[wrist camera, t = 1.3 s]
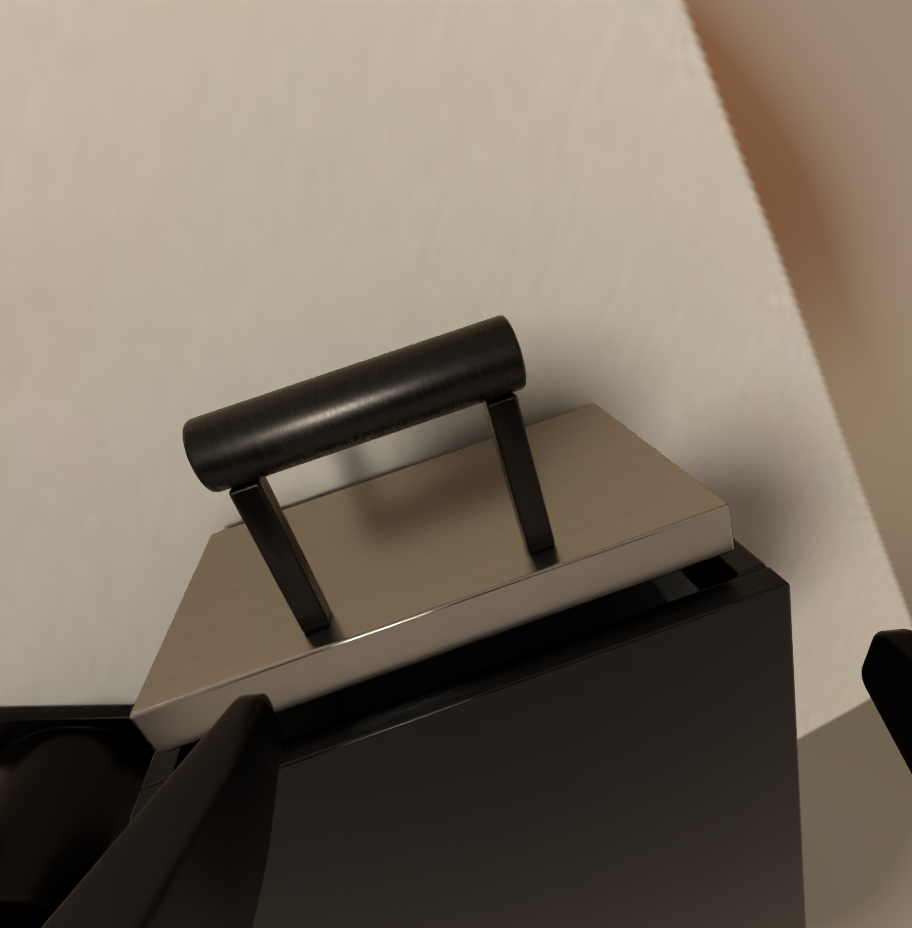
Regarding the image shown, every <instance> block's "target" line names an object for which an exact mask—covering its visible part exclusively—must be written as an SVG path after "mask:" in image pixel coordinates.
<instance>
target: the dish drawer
mask: <svg viewBox="0 0 912 928" xmlns="http://www.w3.org/2000/svg"><path fill="white" fill-rule="evenodd" d="M525 385H526V370H525V364H524V360H523V356H522V352H521V349H520V346H519V343H518V340H517V338H516V335H515V333H514V330H513V328H512V326H511V325H510V323H509V322H508V320H507V319H506V318H505V317H504V316H496V317H493V318H490V319H487V320H484V321H481V322H478V323H475V324H472V325H469V326H466V327H463V328H460V329H457V330H454V331H451V332H449V333H446V334H443V335H440V336H437V337H434V338H431V339H428V340H425V341H422V342H419V343H416V344H413V345H410V346H407V347H404V348H401V349H398V350H395V351H392V352H389V353H386V354H383V355H380V356H377V357H374V358H371V359H368V360H365V361H362V362H359V363H356V364H353V365H350V366H347V367H344V368H341V369H338V370H335V371H332V372H329V373H326V374H323V375H320V376H317V377H314V378H311V379H308V380H305V381H302V382H299V383H297V384H294V385H291V386H288V387H285V388H282V389H279V390H276V391H273V392H270V393H267V394H264V395H261V396H258V397H255V398H252V399H249V400H246V401H243V402H240V403H237V404H234V405H231V406H228V407H225V408H222V409H219V410H216V411H213V412H210V413H207V414H204V415H201V416H198V417H195V418H192V419H189V420H188V421H187V422H186V423H185V425H184V427H183V442H184V447H185V451H186V454H187V457H188V460H189V462H190V464H191V467H192V469H193V470H194V472H195V474H196V476H197V477H198V479H199V480H200V481H201V483H202V484H203V485H204V486H205V487H206V488H207V489H209V490H211V491H213V492H221V491H224V490H227V489H230V488H231V489H230V491H229V495H230V497H231V499H232V500H233V502H234V504H235V506H236V508H237V510H238V512H239V514H240V515H241V517H242V519H243V521H244V524H241V525H238V526H235V527H232V528H229V529H226V530H223V531H221V532H218V533H215V534H212V535H211V537H210V539H209V541H208V544H207V546H206V548H205V550H204V552H203V555H202V557H201V559H200V561H199V563H198V566H197V568H196V570H195V572H194V574H193V577H192V579H191V581H190V583H189V585H188V588H187V590H186V592H185V594H184V596H183V599H182V601H181V603H180V605H179V608H178V610H177V612H176V614H175V616H174V619H173V621H172V623H171V625H170V627H169V630H168V632H167V634H166V636H165V638H164V641H163V643H162V645H161V647H160V649H159V652H158V654H157V656H156V658H155V660H154V663H153V665H152V667H151V669H150V671H149V674H148V676H147V678H146V680H145V683H144V685H143V687H142V689H141V691H140V694H139V696H138V698H137V700H136V702H135V705H134V707H133V709H132V711H131V713H130V719H131V720H132V721H133V723H134V724H135V725H136V727H137V728H138V729H139V730H140V732H141V733H142V734H143V736H144V737H145V738H146V740H147V741H148V742H149V743H150V745H151V746H152V747H153V749H154V750H155V751H156V753H157V754H163V753H166V752H169V751H172V750H174V749H177V748H180V747H183V746H186V745H188V744H191V743H194V742H197V741H200V740H201V739H202V738H203V736H204V735H205V734H206V733H207V732H208V731H209V729H210V728H211V727H212V726H213V725H214V723H215V722H216V721H217V720H218V719H219V718H220V716H221V715H222V714H223V713H224V712H225V710H226V709H227V708H228V707H229V706H230V705H231V703H232V702H233V701H234V700H235V699H236V698H238V697H239V696H242V695H249V694H259V693H264V694H266V695H267V696H268V697H269V698H270V700H271V703H272V706H273V708H274V711H275V713H276V716H277V719H278V721H279V724H280V727H281V731H282V740H283V739H286V738H289V737H291V736H294V735H297V734H300V733H303V732H305V731H308V730H311V729H314V728H317V727H319V726H322V725H325V724H328V723H331V722H333V721H336V720H339V719H342V718H345V717H348V716H350V715H353V714H356V713H359V712H362V711H364V710H367V709H370V708H373V707H376V706H378V705H381V704H384V703H387V702H390V701H392V700H395V699H398V698H401V697H404V696H406V695H409V694H412V693H415V692H418V691H420V690H423V689H426V688H429V687H432V686H434V685H437V684H440V683H443V682H446V681H448V680H451V679H454V678H457V677H460V676H462V675H465V674H468V673H471V672H474V671H476V670H479V669H482V668H485V667H488V666H490V665H493V664H496V663H499V662H502V661H504V660H507V659H510V658H513V657H516V656H518V655H521V654H524V653H527V652H530V651H532V650H535V649H538V648H541V647H544V646H546V645H549V644H552V643H555V642H558V641H560V640H563V639H566V638H569V637H572V636H575V635H577V634H580V633H583V632H586V631H589V630H591V629H594V628H597V627H600V626H603V625H605V624H608V623H611V622H614V621H617V620H619V619H622V618H625V617H628V616H631V615H633V614H636V613H639V612H642V611H645V610H647V609H650V608H653V607H656V606H659V605H661V604H664V603H667V602H670V601H673V600H675V599H678V598H681V597H684V596H687V595H689V594H692V593H695V592H698V591H700V590H699V589H698V588H697V587H696V586H695V585H694V584H693V583H692V582H691V581H690V580H689V579H688V578H687V576H686V575H685V574H684V573H683V572H682V571H681V569H684V568H687V567H690V566H693V565H695V564H698V563H701V562H704V561H707V560H709V559H712V558H715V557H718V556H721V555H724V554H726V553H729V552H732V551H733V550H734V543H733V533H732V523H731V512H730V506H729V504H728V503H726V502H725V501H724V500H722V499H721V498H720V497H718V496H717V495H716V494H714V493H713V492H712V491H710V490H709V489H708V488H706V487H705V486H704V485H702V484H701V483H700V482H698V481H697V480H696V479H694V478H693V477H692V476H690V475H689V474H688V473H686V472H685V471H684V470H682V469H681V468H680V467H678V466H677V465H676V464H674V463H673V462H672V461H670V460H669V459H668V458H666V457H665V456H664V455H662V454H661V453H660V452H658V451H657V450H656V449H654V448H653V447H652V446H650V445H649V444H648V443H646V442H645V441H644V440H642V439H641V438H640V437H638V436H637V435H636V434H634V433H633V432H632V431H630V430H629V429H628V428H626V427H625V426H624V425H622V424H621V423H620V422H618V421H617V420H616V419H614V418H613V417H612V416H610V415H609V414H608V413H606V412H605V411H604V410H602V409H601V408H600V407H598V406H597V405H596V404H591V405H588V406H585V407H582V408H579V409H576V410H573V411H570V412H568V413H565V414H562V415H559V416H556V417H553V418H550V419H547V420H544V421H541V422H538V423H535V424H533V425H530V426H527V427H525V425H524V421H523V417H522V413H521V410H520V406H519V402H518V398H517V396H516V395H515V393H514V391H517V390H520V389H522V388H524V387H525ZM479 403H483V406H484V409H485V413H486V416H487V420H488V423H489V427H490V430H491V434H492V437H493V438H492V439H489V440H486V441H483V442H480V443H477V444H474V445H471V446H468V447H465V448H463V449H460V450H457V451H454V452H451V453H448V454H445V455H442V456H439V457H436V458H433V459H431V460H428V461H425V462H422V463H419V464H416V465H413V466H410V467H407V468H404V469H401V470H398V471H396V472H393V473H390V474H387V475H384V476H381V477H378V478H375V479H372V480H369V481H366V482H363V483H361V484H358V485H355V486H352V487H349V488H346V489H343V490H340V491H337V492H334V493H331V494H328V495H326V496H323V497H320V498H317V499H314V500H311V501H308V502H305V503H302V504H299V505H296V506H293V507H291V508H288V509H285V510H282V509H281V507H280V505H279V503H278V501H277V499H276V497H275V495H274V493H273V491H272V489H271V487H270V485H269V483H268V481H267V479H266V477H265V476H268V475H271V474H274V473H277V472H279V471H282V470H285V469H288V468H291V467H294V466H297V465H300V464H303V463H306V462H309V461H312V460H315V459H318V458H321V457H324V456H326V455H329V454H332V453H335V452H338V451H341V450H344V449H347V448H350V447H353V446H356V445H359V444H362V443H365V442H368V441H370V440H373V439H376V438H379V437H382V436H385V435H388V434H391V433H394V432H397V431H400V430H403V429H406V428H409V427H412V426H415V425H417V424H420V423H423V422H426V421H429V420H432V419H435V418H438V417H441V416H444V415H447V414H450V413H453V412H456V411H459V410H462V409H464V408H467V407H470V406H473V405H476V404H479Z"/></svg>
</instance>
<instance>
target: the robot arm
mask: <svg viewBox="0 0 912 928" xmlns="http://www.w3.org/2000/svg"><path fill="white" fill-rule="evenodd" d="M862 679H863V682H864V685H865V687H866V689H867V691H868V693H869V695H870V697H871V699H872V700H873V702H874V704H875V706H876V708H877V710H878V712H879V714H880V715H881V717H882V719H883V721H884V723H885V725H886V727H887V729H888V730H889V732H890V734H891V736H892V738H893V740H894V742H895V743H896V745H897V747H898V749H899V751H900V753H901V755H902V756H903V758H904V760H905V762H906V764H907V766H908V768H909V770H910V771H911V773H912V631H911V630H907V629H897V630H887V631H880V632H878V633H877V634H875V636H874V637H873V639H872V642H871V645H870V647H869V650H868V653H867V656H866V658H865V661H864V664H863V666H862ZM132 709H133V708H118V709H58V710H0V928H253V923H254V919H255V914H256V910H257V905H258V901H259V896H260V892H261V887H262V883H263V878H264V874H265V869H266V864H267V859H268V853H269V846H270V839H271V831H272V823H273V814H274V806H275V797H276V789H277V781H278V772H279V764H280V755H281V747H282V731H281V727H280V724H279V721H278V719H277V716H276V713H275V711H274V708H273V706H272V703H271V700H270V698H269V697H268V696H267V695H266V694H264V693H259V694H249V695H242V696H239V697H238V698H236V699H235V700H234V701H233V702H232V703H231V705H230V706H229V707H228V708H227V709H226V710H225V712H224V713H223V714H222V715H221V716H220V718H219V719H218V720H217V721H216V722H215V723H214V725H213V726H212V727H211V728H210V729H209V731H208V732H207V733H206V734H205V735H204V736H203V738H202V739H201V740H200V741H199V742H198V743H197V745H196V746H195V747H194V748H193V749H192V751H191V752H190V753H189V754H188V755H187V756H186V758H185V759H184V760H183V761H182V762H181V764H180V765H179V766H178V767H177V768H176V769H175V771H174V772H173V773H172V774H171V775H170V777H169V778H168V779H167V780H166V781H165V782H164V784H163V785H162V786H161V787H160V788H159V789H158V791H157V792H156V793H155V794H154V795H153V797H152V798H151V799H150V800H149V801H148V802H147V804H146V805H145V806H144V807H143V808H142V810H141V811H140V812H139V813H138V814H137V815H136V817H135V818H134V819H133V820H132V821H131V822H130V817H131V814H132V812H133V809H134V806H135V804H136V801H137V798H138V796H139V793H140V791H141V790H142V785H143V782H144V779H145V777H146V774H147V771H148V769H149V766H150V763H151V761H152V758H153V755H154V753H155V750H154V749H153V747H152V746H151V745H150V743H149V742H148V741H147V740H146V738H145V737H144V736H143V734H142V733H141V732H140V730H139V729H138V728H137V727H136V725H135V724H134V723H133V721H132V720H131V719H130V713H131V711H132Z"/></svg>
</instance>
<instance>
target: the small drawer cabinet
mask: <svg viewBox="0 0 912 928" xmlns="http://www.w3.org/2000/svg"><path fill="white" fill-rule="evenodd" d="M733 543H734V550H733V551H732V552H729V553H726V554H724V555H721V556H718V557H715V558H712V559H709V560H707V561H704V562H701V563H698V564H695V565H693V566H690V567H687V568H684V569H681V571H682V572H683V573H684V574H685V575H686V576H687V578H688V579H689V580H690V581H691V582H692V583H693V584H694V585H695V586H696V587H697V588H698V589H699V590H700V591H698V592H695V593H692V594H689V595H687V596H684V597H681V598H678V599H675V600H673V601H670V602H667V603H664V604H661V605H659V606H656V607H653V608H650V609H647V610H645V611H642V612H639V613H636V614H633V615H631V616H628V617H625V618H622V619H619V620H617V621H614V622H611V623H608V624H605V625H603V626H600V627H597V628H594V629H591V630H589V631H586V632H583V633H580V634H577V635H575V636H572V637H569V638H566V639H563V640H560V641H558V642H555V643H552V644H549V645H546V646H544V647H541V648H538V649H535V650H532V651H530V652H527V653H524V654H521V655H518V656H516V657H513V658H510V659H507V660H504V661H502V662H499V663H496V664H493V665H490V666H488V667H485V668H482V669H479V670H476V671H474V672H471V673H468V674H465V675H462V676H460V677H457V678H454V679H451V680H448V681H446V682H443V683H440V684H437V685H434V686H432V687H429V688H426V689H423V690H420V691H418V692H415V693H412V694H409V695H406V696H404V697H401V698H398V699H395V700H392V701H390V702H387V703H384V704H381V705H378V706H376V707H373V708H370V709H367V710H364V711H362V712H359V713H356V714H353V715H350V716H348V717H345V718H342V719H339V720H336V721H333V722H331V723H328V724H325V725H322V726H319V727H317V728H314V729H311V730H308V731H305V732H303V733H300V734H297V735H294V736H291V737H289V738H286V739H283V740H282V747H281V755H280V764H279V772H278V781H277V789H276V797H275V806H274V814H273V823H272V831H271V839H270V846H269V853H268V859H267V864H266V869H265V874H264V878H263V883H262V887H261V892H260V896H259V901H258V905H257V910H256V914H255V919H254V923H253V928H806V918H805V896H804V877H803V875H804V874H803V854H802V832H801V812H800V790H799V771H798V750H797V728H796V707H795V686H794V665H793V644H792V623H791V602H790V586H789V584H788V583H787V582H786V581H785V580H784V579H783V578H781V577H780V576H779V575H778V574H777V573H775V572H774V571H773V570H772V569H770V568H769V567H766V566H765V564H764V563H763V562H761V561H760V560H759V559H758V558H757V557H755V556H754V555H753V554H752V553H751V552H749V551H748V550H747V549H746V548H745V547H743V546H742V545H741V544H740V543H739V542H737V541H736V540H735V539H734V538H733ZM198 742H199V741H197V742H194V743H191V744H188V745H186V746H183V747H180V748H177V749H174V750H172V751H169V752H166V753H163V754H157V753H156V751H155V753H154V755H153V758H152V761H151V763H150V766H149V769H148V771H147V774H146V777H145V779H144V782H143V785H142V790H141V791H140V793H139V796H138V798H137V801H136V804H135V806H134V809H133V812H132V814H131V817H130V822H131V821H132V820H133V819H134V818H135V817H136V815H137V814H138V813H139V812H140V811H141V810H142V808H143V807H144V806H145V805H146V804H147V802H148V801H149V800H150V799H151V798H152V797H153V795H154V794H155V793H156V792H157V791H158V789H159V788H160V787H161V786H162V785H163V784H164V782H165V781H166V780H167V779H168V778H169V777H170V775H171V774H172V773H173V772H174V771H175V769H176V768H177V767H178V766H179V765H180V764H181V762H182V761H183V760H184V759H185V758H186V756H187V755H188V754H189V753H190V752H191V751H192V749H193V748H194V747H195V746H196V745H197V743H198Z"/></svg>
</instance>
